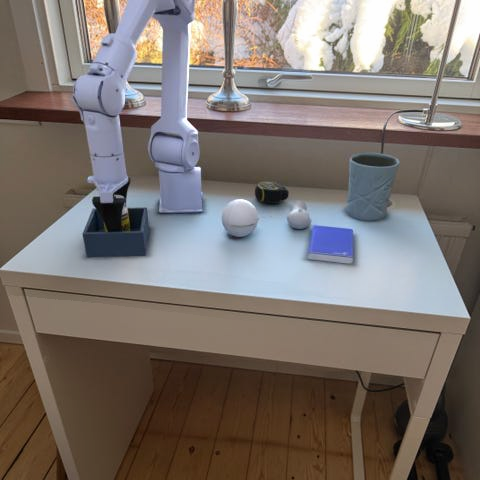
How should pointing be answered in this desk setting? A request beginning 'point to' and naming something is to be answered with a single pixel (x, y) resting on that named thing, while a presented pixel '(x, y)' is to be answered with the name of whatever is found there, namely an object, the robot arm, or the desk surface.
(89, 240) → the desk bin
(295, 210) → the pale two-lobed sculpture
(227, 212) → the seamed sphere
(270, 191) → the tape measure
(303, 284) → the desk surface
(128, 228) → the supplement bottle
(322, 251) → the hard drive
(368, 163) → the embossed planter pot
